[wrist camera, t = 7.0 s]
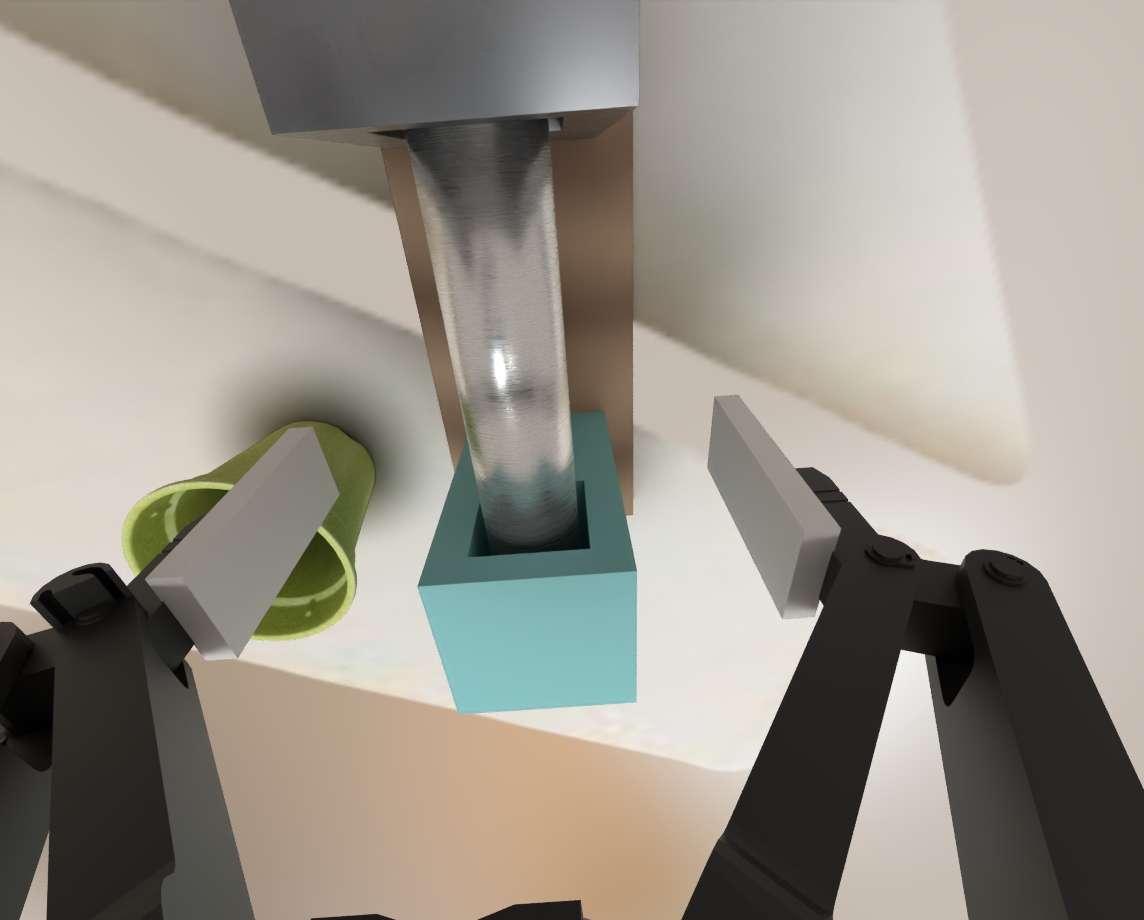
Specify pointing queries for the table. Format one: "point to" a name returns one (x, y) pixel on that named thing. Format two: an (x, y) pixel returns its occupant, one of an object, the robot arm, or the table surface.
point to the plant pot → (327, 562)
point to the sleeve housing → (440, 65)
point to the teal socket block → (537, 597)
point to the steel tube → (503, 321)
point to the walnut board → (587, 275)
